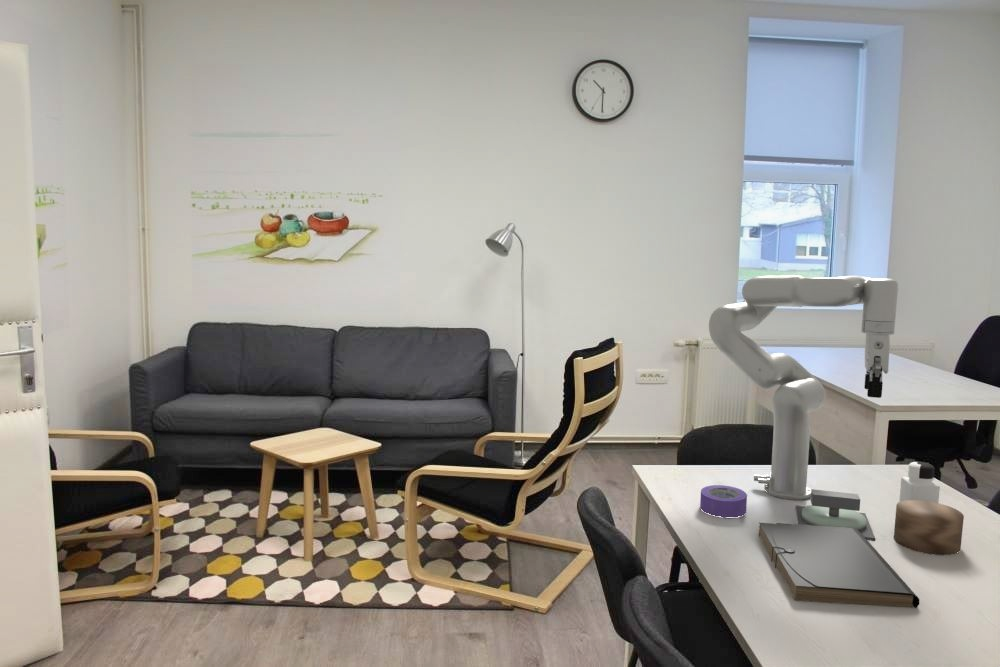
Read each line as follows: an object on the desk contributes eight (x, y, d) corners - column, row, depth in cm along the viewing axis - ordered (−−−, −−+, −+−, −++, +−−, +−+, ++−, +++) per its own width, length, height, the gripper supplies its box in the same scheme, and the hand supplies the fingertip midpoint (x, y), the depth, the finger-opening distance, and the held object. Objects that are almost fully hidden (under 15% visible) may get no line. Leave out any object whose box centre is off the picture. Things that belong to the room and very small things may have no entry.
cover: (870, 535, 186) (873, 508, 185) (804, 527, 190) (806, 500, 189) (860, 513, 200) (863, 487, 199) (799, 506, 205) (801, 481, 204)
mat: (799, 531, 190) (799, 529, 190) (795, 507, 206) (795, 505, 206) (875, 540, 185) (875, 538, 185) (865, 515, 201) (865, 513, 201)
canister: (899, 550, 179) (902, 517, 178) (889, 528, 192) (891, 497, 191) (967, 558, 175) (971, 525, 174) (952, 535, 188) (955, 504, 187)
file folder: (758, 520, 187) (861, 527, 184) (756, 536, 187) (859, 543, 185) (794, 583, 154) (920, 592, 152) (792, 602, 155) (918, 612, 152)
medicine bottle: (926, 502, 210) (930, 460, 209) (938, 512, 203) (942, 468, 202) (898, 501, 211) (902, 459, 209) (909, 510, 204) (913, 467, 202)
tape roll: (729, 522, 195) (730, 503, 195) (691, 509, 204) (691, 491, 203) (754, 511, 203) (755, 493, 202) (716, 499, 212) (717, 481, 211)
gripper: (898, 332, 186) (892, 401, 188) (890, 323, 202) (885, 387, 204) (864, 330, 188) (858, 398, 191) (859, 322, 204) (854, 385, 207)
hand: (872, 393), depth 197 cm, fingers open, 9 cm apart
